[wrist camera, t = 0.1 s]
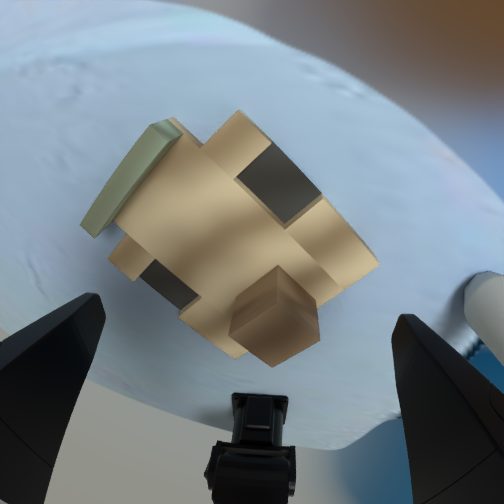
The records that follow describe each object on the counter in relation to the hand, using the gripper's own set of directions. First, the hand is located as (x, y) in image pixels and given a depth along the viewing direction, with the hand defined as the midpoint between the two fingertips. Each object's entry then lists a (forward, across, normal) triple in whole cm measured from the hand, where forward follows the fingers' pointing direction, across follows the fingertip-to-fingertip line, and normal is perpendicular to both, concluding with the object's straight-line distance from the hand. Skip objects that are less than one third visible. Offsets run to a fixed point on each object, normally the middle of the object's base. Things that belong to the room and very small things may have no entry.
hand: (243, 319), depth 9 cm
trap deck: (+15, +2, +6) cm, 16 cm away
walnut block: (+13, -1, +10) cm, 17 cm away
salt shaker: (+15, -21, +9) cm, 27 cm away
